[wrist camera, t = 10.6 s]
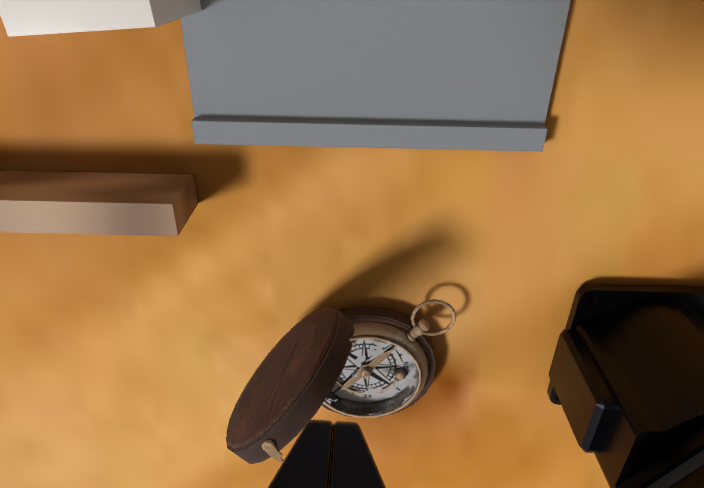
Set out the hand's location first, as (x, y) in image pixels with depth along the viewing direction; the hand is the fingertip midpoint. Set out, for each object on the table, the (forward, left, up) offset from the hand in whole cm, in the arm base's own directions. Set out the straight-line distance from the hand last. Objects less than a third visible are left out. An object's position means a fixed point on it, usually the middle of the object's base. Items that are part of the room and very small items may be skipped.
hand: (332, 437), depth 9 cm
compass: (-1, +8, -12) cm, 15 cm away
